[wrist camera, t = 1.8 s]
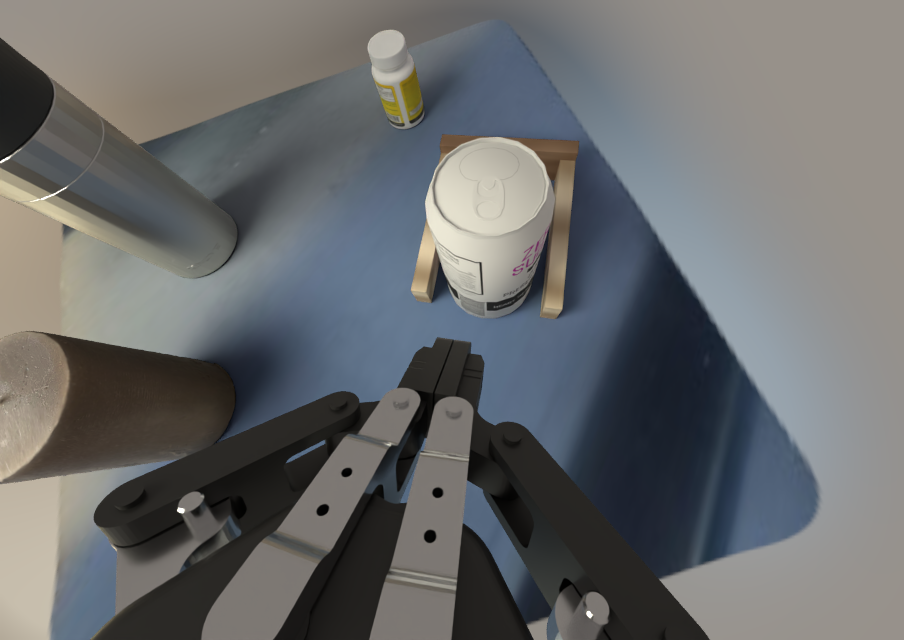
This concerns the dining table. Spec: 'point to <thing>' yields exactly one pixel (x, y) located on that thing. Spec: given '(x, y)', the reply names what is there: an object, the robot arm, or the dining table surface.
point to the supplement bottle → (396, 79)
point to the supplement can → (490, 222)
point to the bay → (561, 169)
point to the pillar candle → (102, 406)
